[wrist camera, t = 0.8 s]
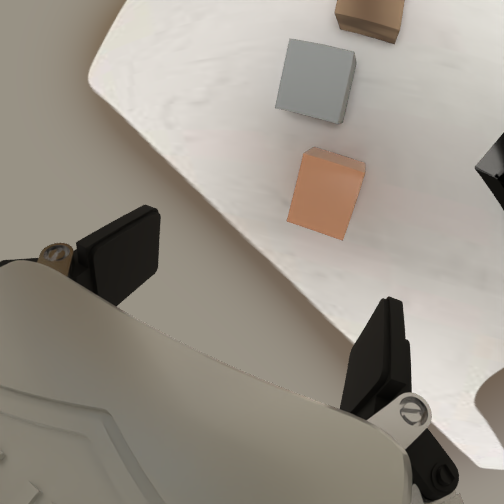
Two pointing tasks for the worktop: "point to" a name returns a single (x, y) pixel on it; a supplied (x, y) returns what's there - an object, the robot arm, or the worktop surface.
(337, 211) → the terracotta block
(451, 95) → the worktop surface
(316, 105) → the slate grey block
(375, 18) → the walnut block
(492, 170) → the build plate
